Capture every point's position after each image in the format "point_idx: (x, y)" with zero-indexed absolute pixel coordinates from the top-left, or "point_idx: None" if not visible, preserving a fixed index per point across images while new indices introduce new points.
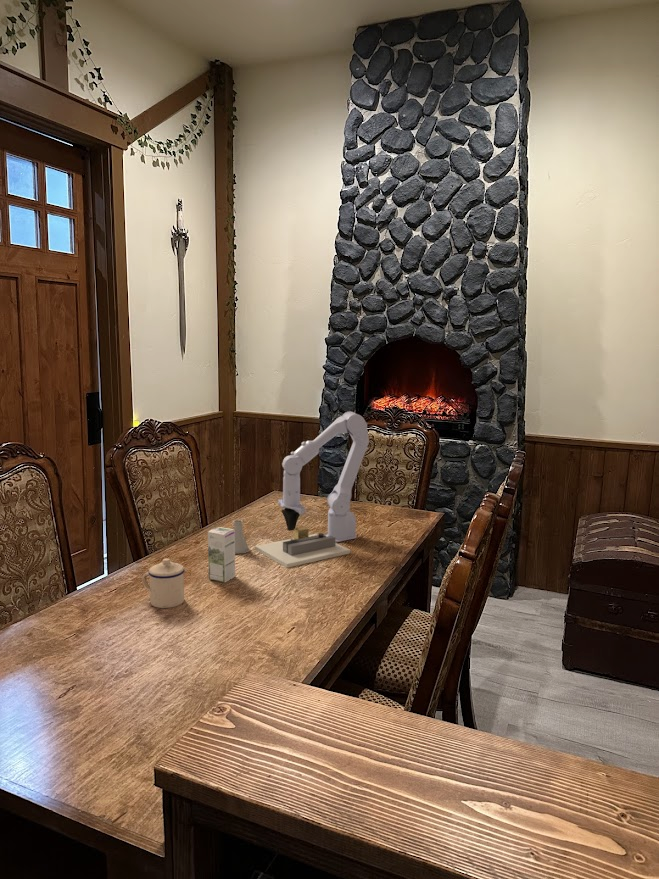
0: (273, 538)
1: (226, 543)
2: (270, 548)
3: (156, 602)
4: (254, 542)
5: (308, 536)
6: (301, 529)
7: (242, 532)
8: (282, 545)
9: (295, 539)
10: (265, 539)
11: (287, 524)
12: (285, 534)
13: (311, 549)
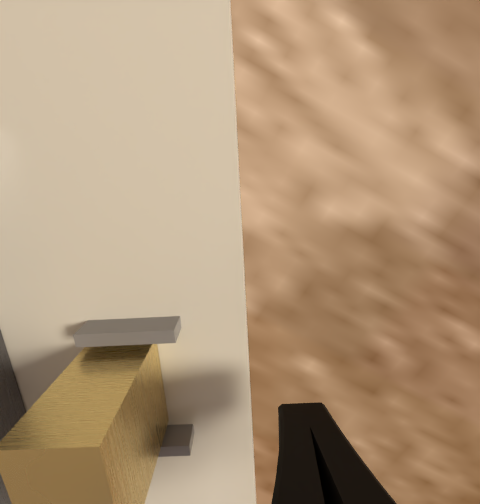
0: (414, 264)
1: None
2: (61, 35)
3: None
4: (433, 46)
5: (231, 475)
6: (38, 501)
7: None
8: (106, 201)
9: (127, 354)
10: (438, 190)
11: (325, 460)
12: (435, 383)
13: None
